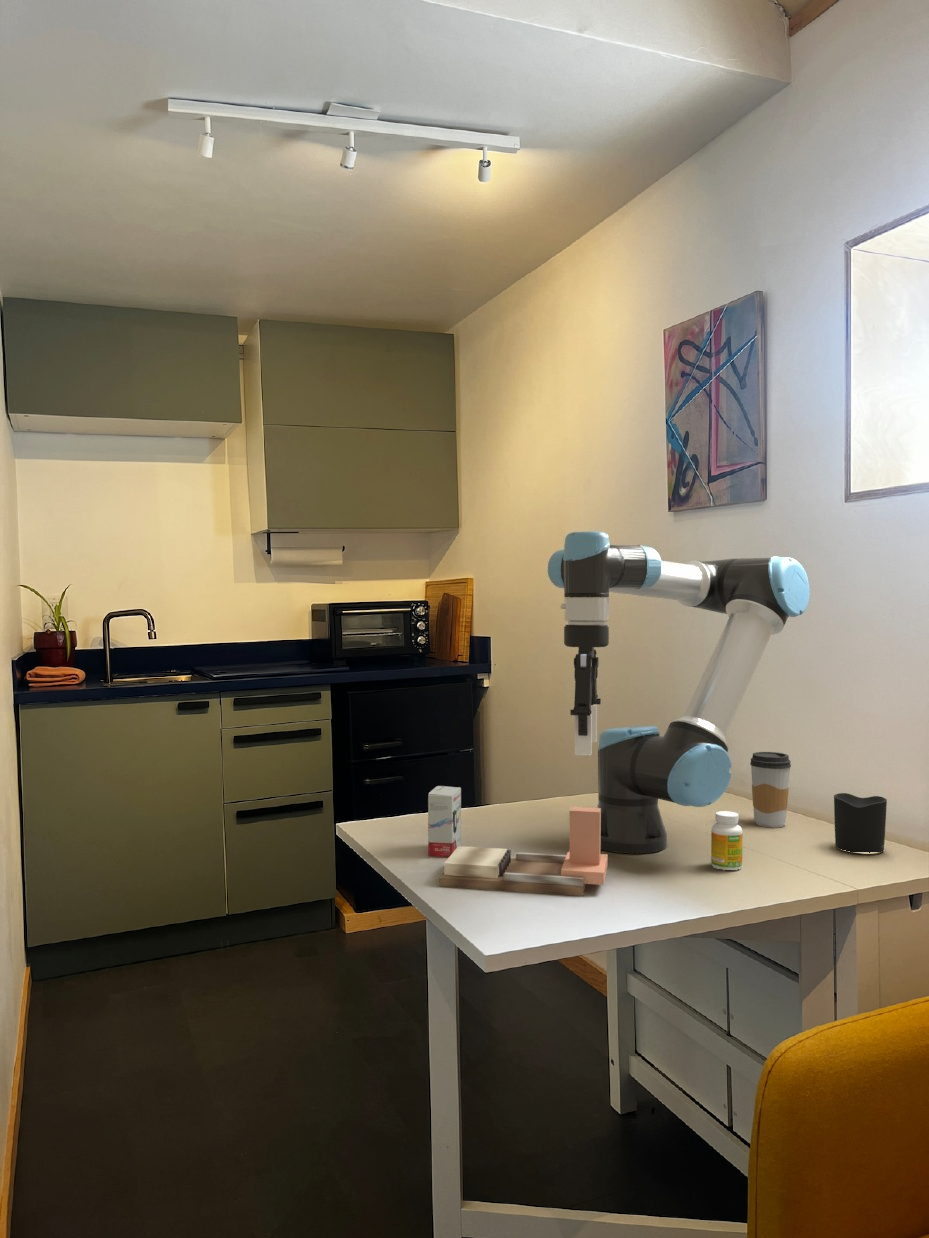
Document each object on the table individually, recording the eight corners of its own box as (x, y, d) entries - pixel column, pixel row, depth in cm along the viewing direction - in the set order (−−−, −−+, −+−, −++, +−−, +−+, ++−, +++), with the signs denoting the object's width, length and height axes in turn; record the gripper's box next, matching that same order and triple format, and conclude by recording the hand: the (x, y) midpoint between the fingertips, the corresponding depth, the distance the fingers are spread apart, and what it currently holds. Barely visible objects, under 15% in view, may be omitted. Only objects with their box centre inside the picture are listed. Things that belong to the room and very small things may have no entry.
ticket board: (589, 871, 165) (589, 850, 165) (582, 895, 152) (582, 873, 152) (457, 862, 170) (457, 842, 170) (439, 886, 157) (439, 864, 157)
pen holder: (859, 857, 174) (860, 804, 174) (822, 845, 183) (823, 794, 183) (897, 852, 178) (898, 800, 178) (859, 840, 186) (860, 791, 186)
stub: (607, 865, 163) (608, 803, 163) (603, 884, 152) (604, 817, 152) (567, 863, 165) (567, 801, 164) (561, 881, 154) (561, 815, 154)
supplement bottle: (729, 873, 164) (729, 818, 164) (704, 865, 169) (705, 812, 169) (748, 867, 168) (748, 814, 167) (723, 861, 172) (724, 808, 172)
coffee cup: (794, 822, 201) (795, 753, 201) (785, 831, 194) (785, 759, 194) (755, 817, 205) (756, 750, 205) (744, 825, 198) (745, 755, 198)
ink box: (452, 858, 173) (452, 795, 173) (426, 856, 174) (427, 794, 174) (461, 846, 182) (461, 786, 181) (437, 844, 183) (437, 784, 182)
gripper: (570, 620, 171) (570, 736, 171) (556, 625, 146) (556, 760, 147) (612, 621, 169) (611, 737, 170) (604, 626, 145) (604, 762, 145)
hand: (586, 748), depth 158 cm, fingers open, 13 cm apart
